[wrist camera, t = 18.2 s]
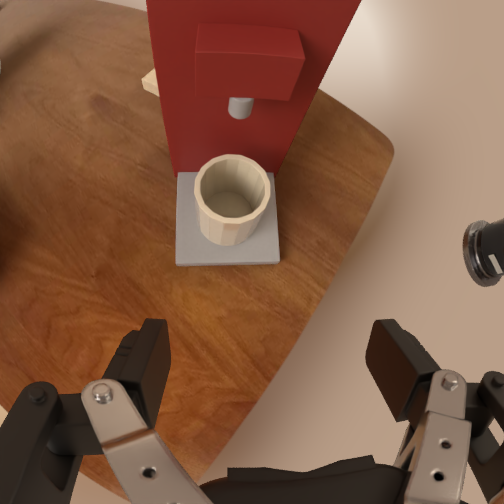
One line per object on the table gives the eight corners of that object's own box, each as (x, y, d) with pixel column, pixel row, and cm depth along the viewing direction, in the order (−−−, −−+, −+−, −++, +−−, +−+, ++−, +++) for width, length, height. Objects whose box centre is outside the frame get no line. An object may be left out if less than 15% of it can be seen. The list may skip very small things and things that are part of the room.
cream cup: (243, 182, 34) (253, 146, 27) (265, 234, 33) (282, 208, 26) (189, 201, 33) (184, 167, 25) (209, 254, 32) (210, 234, 24)
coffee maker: (282, 263, 34) (457, 124, 8) (171, 266, 33) (67, 97, 6) (272, 139, 38) (347, -52, 11) (176, 138, 36) (159, -69, 10)
